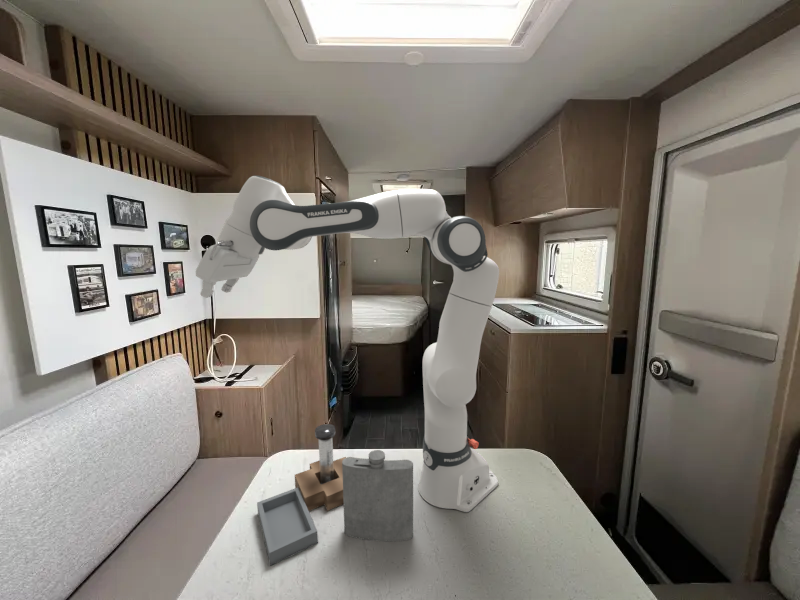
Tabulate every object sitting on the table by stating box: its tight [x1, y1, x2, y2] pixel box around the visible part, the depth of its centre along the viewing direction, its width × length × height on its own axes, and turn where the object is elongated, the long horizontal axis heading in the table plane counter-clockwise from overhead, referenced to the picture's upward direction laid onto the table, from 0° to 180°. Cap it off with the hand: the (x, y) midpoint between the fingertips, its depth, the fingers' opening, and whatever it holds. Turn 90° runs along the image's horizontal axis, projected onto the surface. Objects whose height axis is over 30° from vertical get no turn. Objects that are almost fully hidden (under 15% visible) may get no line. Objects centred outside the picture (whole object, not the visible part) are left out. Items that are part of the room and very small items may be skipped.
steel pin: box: [314, 423, 336, 485], centre depth 87 cm, size 5×5×18 cm
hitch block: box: [294, 456, 347, 512], centre depth 88 cm, size 15×15×4 cm
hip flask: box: [342, 449, 414, 542], centre depth 73 cm, size 16×4×20 cm, turn 85°
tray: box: [256, 487, 319, 567], centre depth 76 cm, size 10×16×3 cm, turn 32°
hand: (215, 293), depth 78 cm, fingers open, 8 cm apart
